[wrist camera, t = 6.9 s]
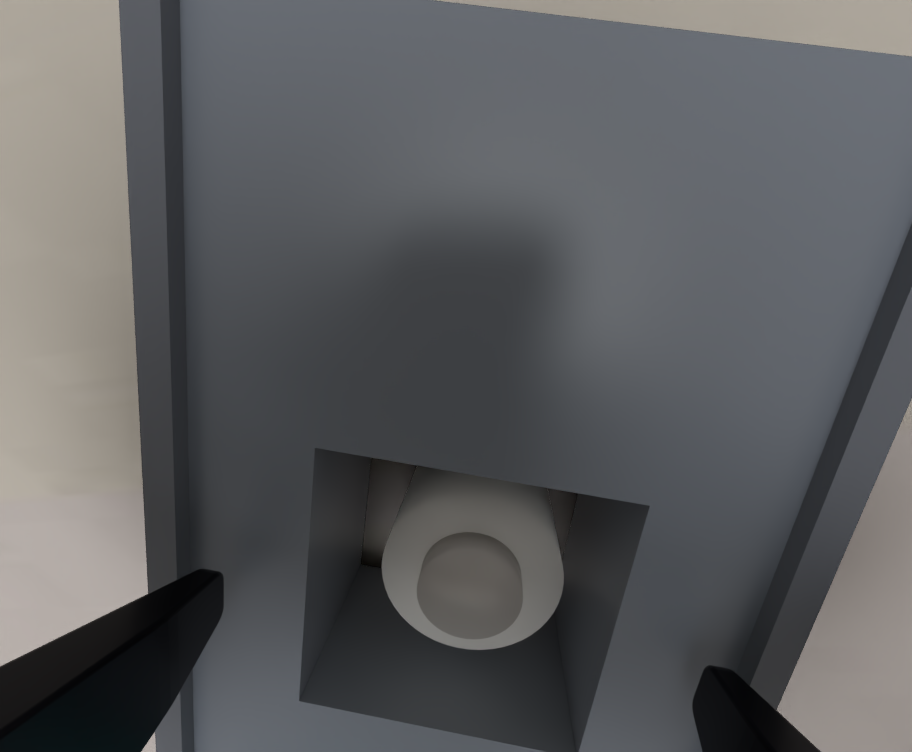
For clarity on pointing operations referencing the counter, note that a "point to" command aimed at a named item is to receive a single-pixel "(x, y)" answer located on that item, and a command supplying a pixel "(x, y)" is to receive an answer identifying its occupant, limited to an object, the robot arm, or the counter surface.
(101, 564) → the counter surface
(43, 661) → the robot arm
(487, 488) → the white hollow cylinder
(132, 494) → the counter surface
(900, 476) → the counter surface
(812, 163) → the housing
